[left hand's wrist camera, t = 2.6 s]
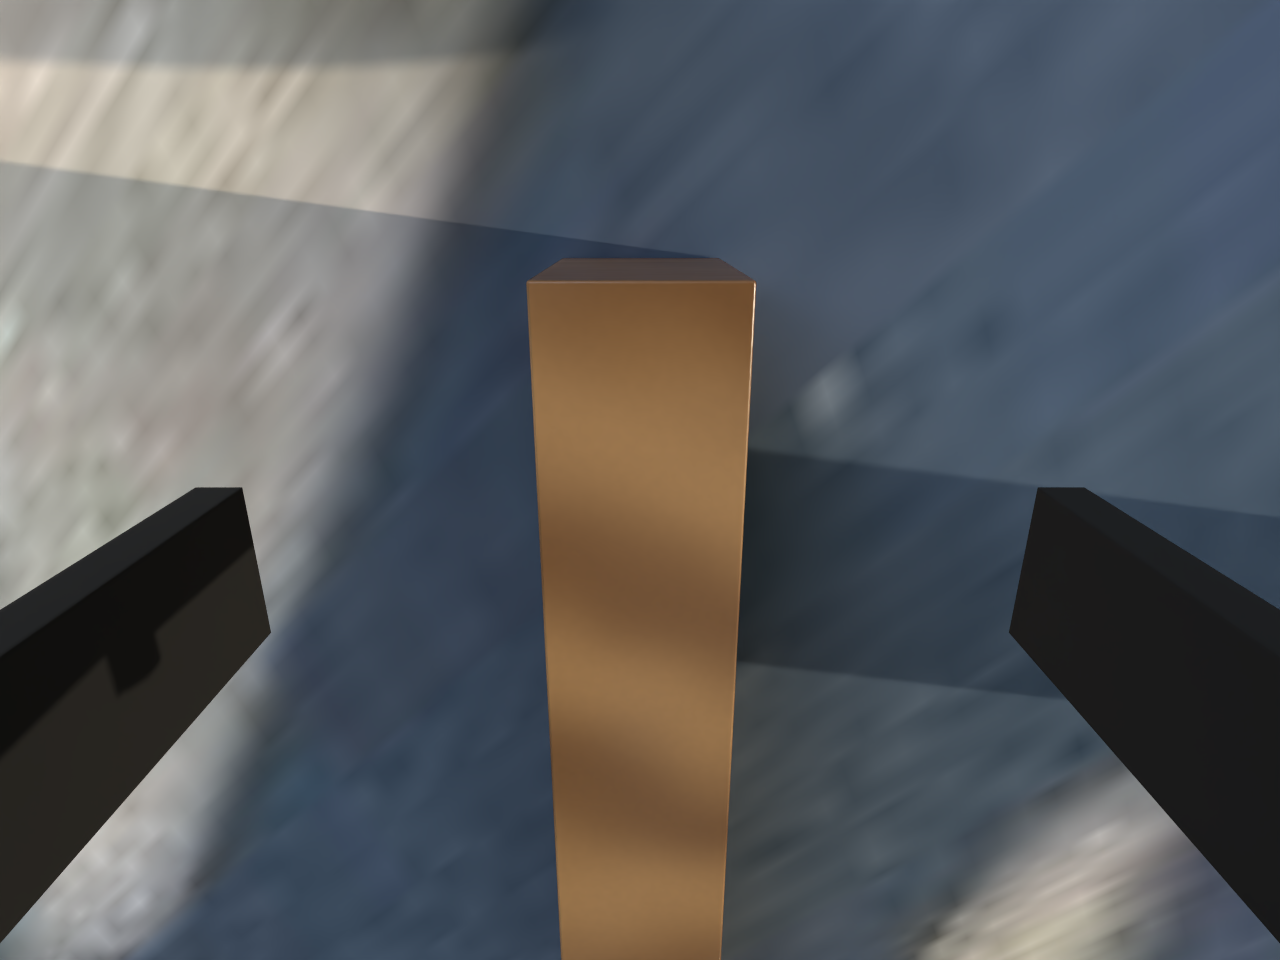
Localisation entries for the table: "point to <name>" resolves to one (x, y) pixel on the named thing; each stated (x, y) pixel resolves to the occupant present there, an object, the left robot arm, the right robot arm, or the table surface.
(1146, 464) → the table surface
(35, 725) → the left robot arm
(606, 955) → the bar
